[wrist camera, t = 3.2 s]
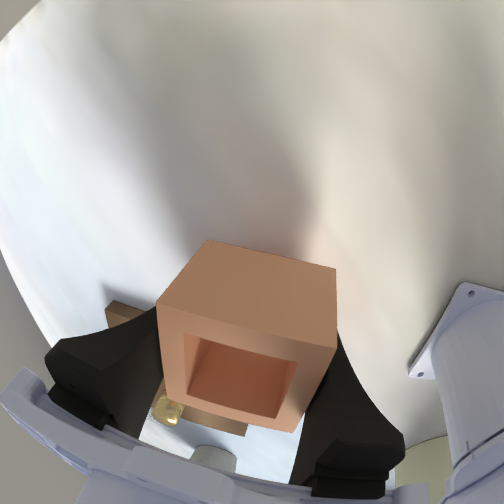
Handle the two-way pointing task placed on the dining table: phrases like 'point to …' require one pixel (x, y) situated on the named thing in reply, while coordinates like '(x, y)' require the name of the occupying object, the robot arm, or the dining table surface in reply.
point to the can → (427, 466)
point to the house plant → (214, 458)
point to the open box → (247, 334)
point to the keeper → (164, 407)
